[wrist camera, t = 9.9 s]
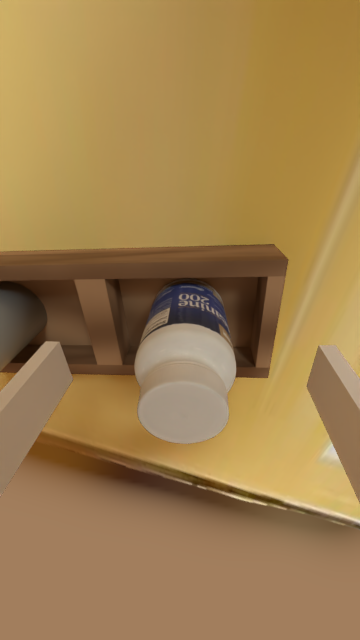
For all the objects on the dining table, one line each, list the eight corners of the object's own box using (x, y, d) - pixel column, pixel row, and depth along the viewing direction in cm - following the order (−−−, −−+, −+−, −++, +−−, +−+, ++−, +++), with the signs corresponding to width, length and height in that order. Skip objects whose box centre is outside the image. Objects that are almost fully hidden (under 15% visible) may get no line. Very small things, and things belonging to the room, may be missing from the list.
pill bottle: (238, 305, 19) (274, 413, 10) (192, 349, 21) (191, 466, 13) (182, 260, 17) (170, 344, 9) (139, 313, 20) (97, 419, 11)
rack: (-45, 252, 20) (-90, 267, 17) (273, 244, 17) (288, 259, 14) (1, 346, 24) (-27, 371, 21) (259, 349, 22) (267, 377, 19)
